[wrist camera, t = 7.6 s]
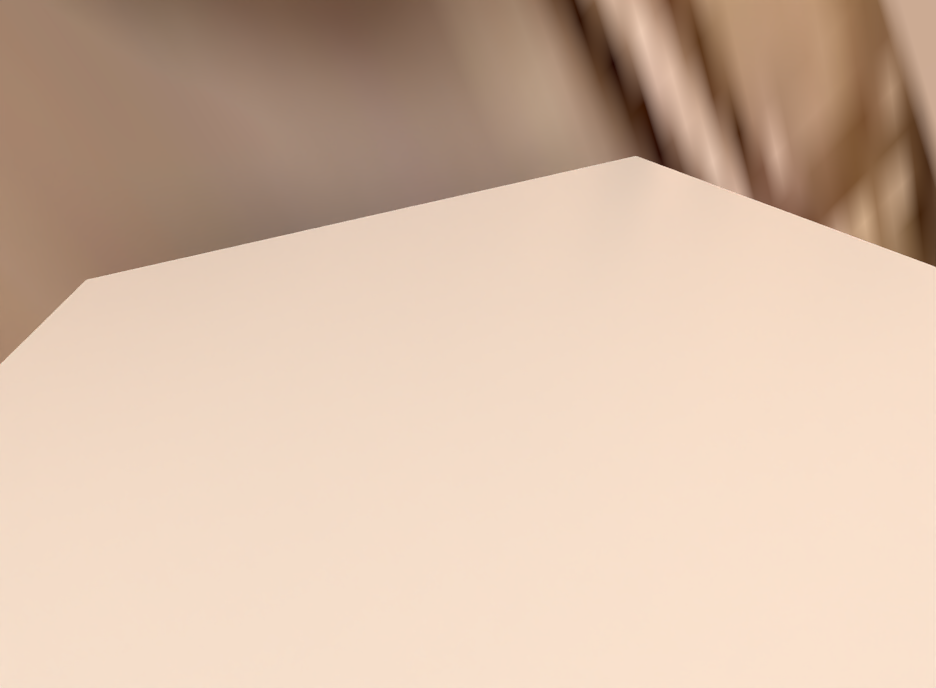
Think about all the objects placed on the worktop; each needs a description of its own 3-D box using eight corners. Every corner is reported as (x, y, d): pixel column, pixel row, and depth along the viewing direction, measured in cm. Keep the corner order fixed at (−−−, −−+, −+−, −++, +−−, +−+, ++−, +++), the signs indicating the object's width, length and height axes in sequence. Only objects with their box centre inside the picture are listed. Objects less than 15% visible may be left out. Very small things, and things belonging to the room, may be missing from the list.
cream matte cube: (636, 155, 10) (1745, 567, 2) (671, 570, 13) (1179, 1352, 5) (86, 279, 10) (-1179, 1521, 2) (260, 685, 13) (144, 1778, 5)
